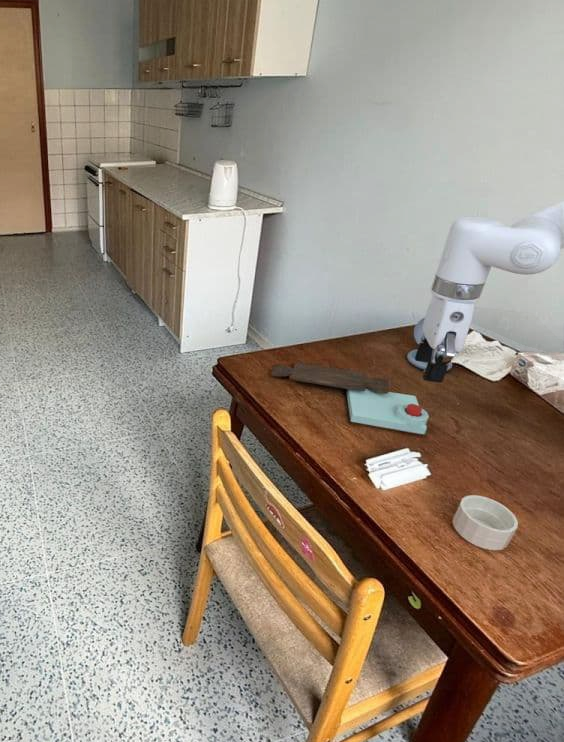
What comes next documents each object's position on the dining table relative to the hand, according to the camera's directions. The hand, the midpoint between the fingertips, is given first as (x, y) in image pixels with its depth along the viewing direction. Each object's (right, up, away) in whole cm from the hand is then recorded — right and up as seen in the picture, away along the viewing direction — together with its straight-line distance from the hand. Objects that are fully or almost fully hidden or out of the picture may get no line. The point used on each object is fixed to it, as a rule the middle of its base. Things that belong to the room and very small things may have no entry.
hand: (427, 370), depth 94 cm
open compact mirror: (+19, 0, +29) cm, 35 cm away
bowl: (-4, -25, -18) cm, 31 cm away
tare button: (0, -9, +5) cm, 11 cm away
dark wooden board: (-11, -4, +21) cm, 23 cm away
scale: (-3, -10, +11) cm, 15 cm away
